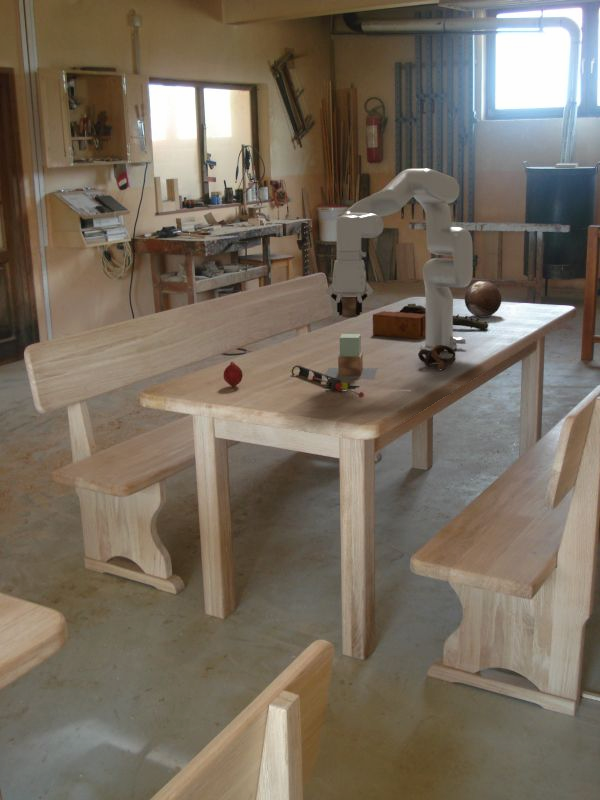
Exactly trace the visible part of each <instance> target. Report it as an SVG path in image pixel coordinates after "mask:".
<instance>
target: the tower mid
mask: <svg viewBox="0 0 600 800" xmlns="http://www.w3.org/2000/svg"><path fill="white" fill-rule="evenodd" d="M361 338H362V336H361V334H360V333H341V335H340V337H339V354H340V357H359V356H360V353H361V352H362V348H361V347H362V343H361Z"/></svg>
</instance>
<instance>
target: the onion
mask: <svg viewBox="0 0 600 800" xmlns="http://www.w3.org/2000/svg"><path fill="white" fill-rule="evenodd" d="M243 376H244V374H243V371H242V369H241V368H240V367H239V366H238V364H236V363H235V362H234V361H231V362H229V364H228V365H227V367H225V369H224V370H223V379H224V381H225V382H226V384H228V385H230V386H231V387H232V388H235V387H237V386H238V385H239V384H240V383H241V382H242V379H243Z"/></svg>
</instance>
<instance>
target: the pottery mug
mask: <svg viewBox="0 0 600 800" xmlns="http://www.w3.org/2000/svg"><path fill="white" fill-rule="evenodd" d="M445 350H447V351H445ZM444 352H447V353H448V354H450V355H452V356H450V357H442V356H441V353H444ZM417 356H418V359H419V360H420V361H421V362H422V363H424V364H425V366H427V365H429V364H430V365H432V363H433V364H437V367H436V369H437V370H438V369H442V370H444V369H445V368H447V367H450V366H452V365H454V364H455V363H456V359H457V358H456V352H455V350H453V349H452V348H450V347H448V346H444V345H438V346H435V347H434V349H432V350H430V351H429V350H426V349H421V350H419V351H418V354H417ZM424 356H425V357H424ZM438 363H439V364H438ZM430 365H429V366H430Z"/></svg>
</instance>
